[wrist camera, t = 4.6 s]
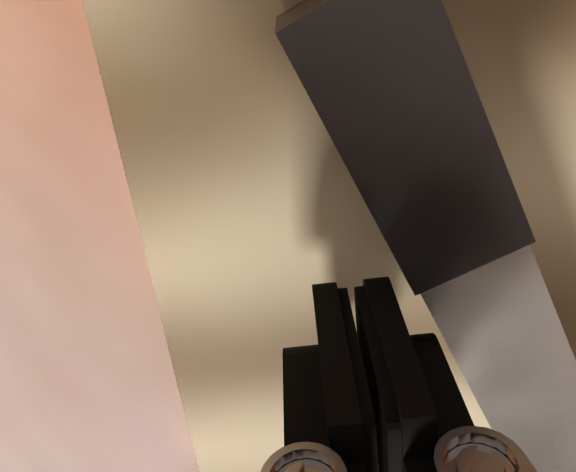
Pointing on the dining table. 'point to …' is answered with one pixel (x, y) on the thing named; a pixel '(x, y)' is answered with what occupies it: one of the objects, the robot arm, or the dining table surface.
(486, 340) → the tong arm
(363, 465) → the robot arm
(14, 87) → the dining table surface
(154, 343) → the dining table surface
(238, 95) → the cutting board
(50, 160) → the dining table surface
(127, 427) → the dining table surface
